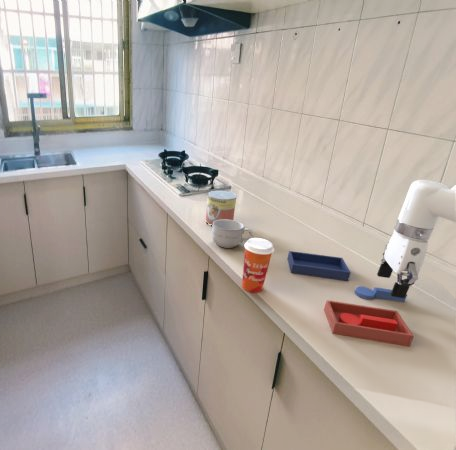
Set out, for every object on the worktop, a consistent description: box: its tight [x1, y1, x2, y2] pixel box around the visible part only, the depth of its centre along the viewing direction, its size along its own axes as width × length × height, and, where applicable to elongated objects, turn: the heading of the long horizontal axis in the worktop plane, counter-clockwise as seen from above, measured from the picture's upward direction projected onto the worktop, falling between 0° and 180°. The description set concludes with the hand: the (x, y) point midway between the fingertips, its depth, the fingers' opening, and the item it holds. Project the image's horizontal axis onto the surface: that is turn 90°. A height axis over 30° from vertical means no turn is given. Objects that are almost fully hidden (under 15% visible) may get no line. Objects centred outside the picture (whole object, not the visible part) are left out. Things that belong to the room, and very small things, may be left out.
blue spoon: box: [354, 285, 408, 303], centre depth 93 cm, size 12×5×2 cm, turn 77°
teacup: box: [211, 219, 254, 249], centre depth 118 cm, size 14×11×8 cm
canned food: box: [205, 189, 238, 225], centre depth 136 cm, size 11×11×12 cm
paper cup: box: [241, 237, 275, 294], centre depth 93 cm, size 8×8×14 cm
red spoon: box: [339, 313, 398, 331], centre depth 81 cm, size 12×5×2 cm, turn 77°
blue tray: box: [287, 250, 352, 282], centre depth 106 cm, size 16×9×3 cm, turn 77°
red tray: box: [323, 299, 415, 347], centre depth 81 cm, size 16×9×3 cm, turn 77°
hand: (389, 286), depth 92 cm, fingers open, 9 cm apart
